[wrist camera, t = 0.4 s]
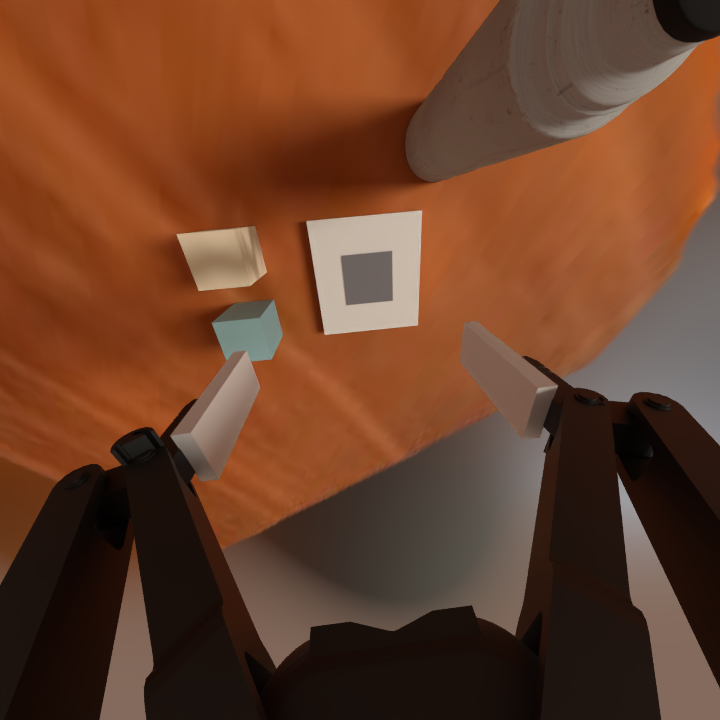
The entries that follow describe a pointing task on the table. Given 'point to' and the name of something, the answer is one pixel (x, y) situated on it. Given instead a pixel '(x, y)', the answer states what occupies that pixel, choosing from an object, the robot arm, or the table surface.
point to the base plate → (367, 270)
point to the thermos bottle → (549, 77)
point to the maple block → (223, 257)
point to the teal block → (249, 329)
